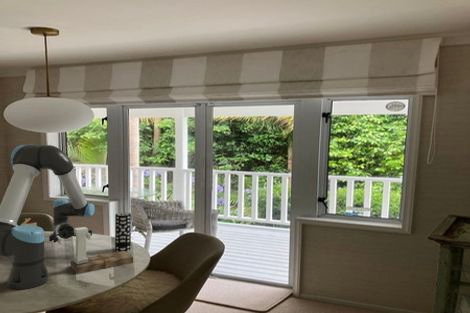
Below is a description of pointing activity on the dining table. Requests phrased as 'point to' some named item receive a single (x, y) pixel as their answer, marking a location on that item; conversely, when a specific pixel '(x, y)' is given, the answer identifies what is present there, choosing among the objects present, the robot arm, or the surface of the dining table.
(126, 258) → the fader console
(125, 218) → the spotted tube
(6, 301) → the dining table surface
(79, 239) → the fader knob
